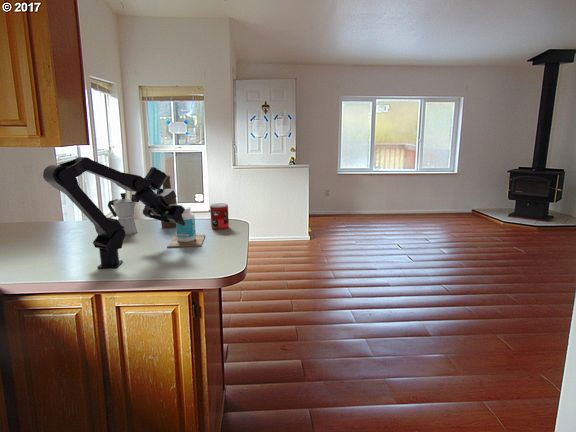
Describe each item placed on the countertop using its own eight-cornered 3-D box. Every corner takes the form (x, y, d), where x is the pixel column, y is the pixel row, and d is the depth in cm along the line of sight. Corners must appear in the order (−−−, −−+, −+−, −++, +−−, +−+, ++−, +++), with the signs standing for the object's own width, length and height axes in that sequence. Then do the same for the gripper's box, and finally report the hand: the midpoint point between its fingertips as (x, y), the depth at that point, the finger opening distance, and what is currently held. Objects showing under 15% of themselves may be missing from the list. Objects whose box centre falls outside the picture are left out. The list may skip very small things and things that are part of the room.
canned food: (209, 227, 188) (208, 204, 185) (226, 225, 191) (225, 202, 188) (213, 230, 181) (212, 206, 178) (231, 228, 184) (229, 205, 182)
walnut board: (201, 246, 157) (201, 245, 157) (167, 247, 156) (167, 246, 156) (205, 235, 173) (205, 234, 172) (174, 236, 171) (174, 235, 171)
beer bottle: (161, 225, 193) (157, 175, 188) (178, 223, 195) (174, 174, 190) (161, 228, 186) (157, 177, 180) (178, 227, 188) (174, 176, 183)
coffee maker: (145, 231, 182) (141, 191, 178) (133, 236, 174) (129, 195, 170) (117, 229, 186) (113, 191, 182) (104, 234, 178) (99, 194, 174)
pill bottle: (197, 241, 162) (195, 208, 159) (179, 243, 159) (176, 210, 156) (194, 236, 169) (191, 205, 166) (176, 239, 166) (173, 207, 163)
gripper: (179, 184, 146) (203, 209, 157) (146, 180, 156) (171, 204, 167) (162, 209, 141) (188, 232, 152) (130, 204, 151) (157, 226, 162)
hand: (176, 223), depth 158 cm, fingers open, 9 cm apart
